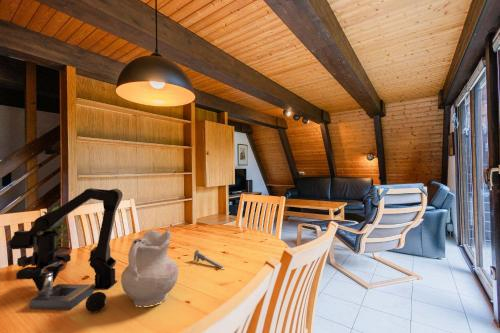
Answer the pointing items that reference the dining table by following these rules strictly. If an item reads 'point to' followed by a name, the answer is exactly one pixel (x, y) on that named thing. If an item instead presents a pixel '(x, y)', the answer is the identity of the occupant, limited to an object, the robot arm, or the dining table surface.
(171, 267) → the ceramic pitcher
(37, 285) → the robot arm
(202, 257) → the caliper
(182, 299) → the dining table surface
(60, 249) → the potted plant
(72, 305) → the jig
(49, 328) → the dining table surface
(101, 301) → the billiard ball
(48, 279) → the grey cylinder
